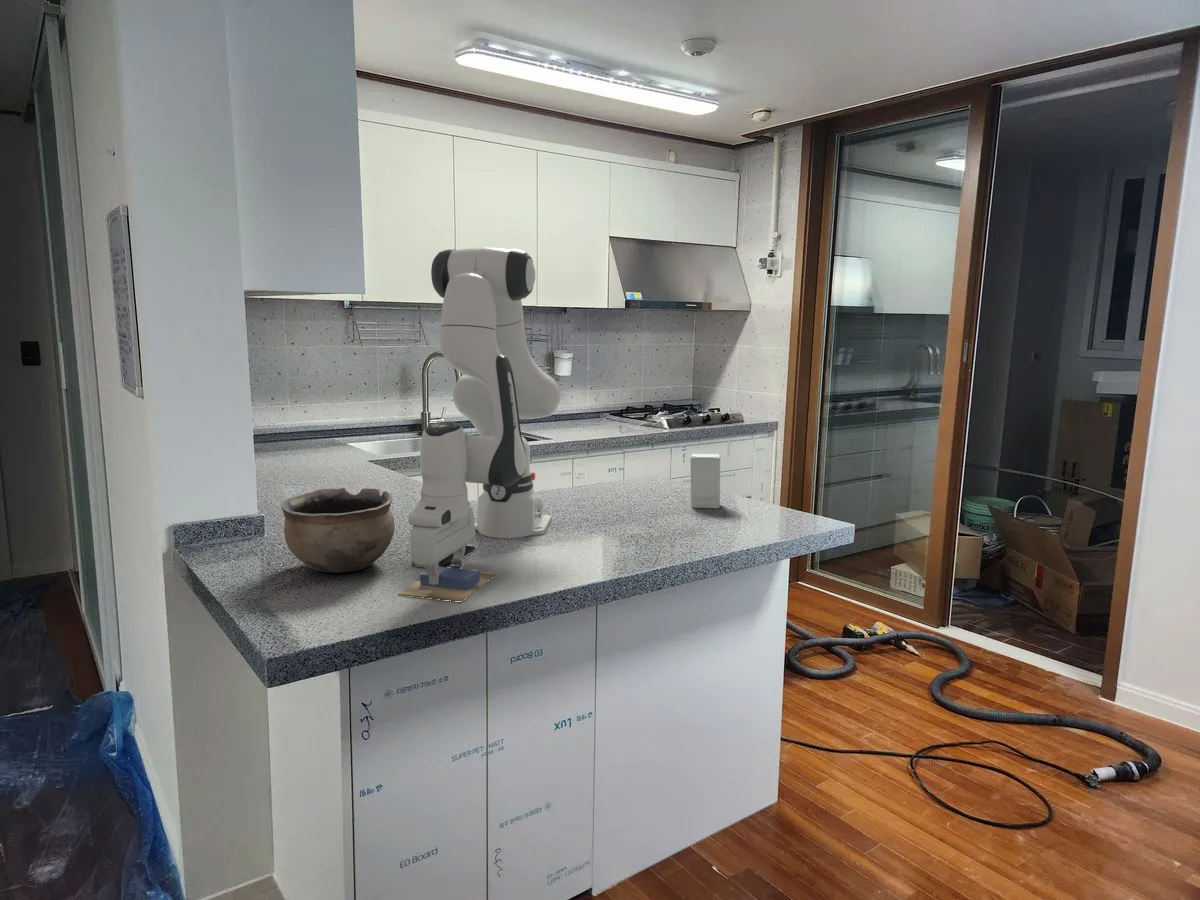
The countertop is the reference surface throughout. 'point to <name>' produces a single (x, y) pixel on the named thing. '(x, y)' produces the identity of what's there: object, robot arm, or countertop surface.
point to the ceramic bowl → (338, 528)
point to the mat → (443, 590)
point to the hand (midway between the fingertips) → (446, 575)
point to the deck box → (453, 578)
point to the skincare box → (705, 480)
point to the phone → (448, 559)
